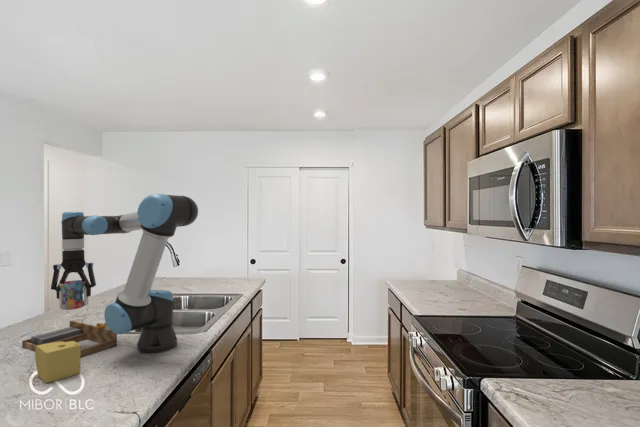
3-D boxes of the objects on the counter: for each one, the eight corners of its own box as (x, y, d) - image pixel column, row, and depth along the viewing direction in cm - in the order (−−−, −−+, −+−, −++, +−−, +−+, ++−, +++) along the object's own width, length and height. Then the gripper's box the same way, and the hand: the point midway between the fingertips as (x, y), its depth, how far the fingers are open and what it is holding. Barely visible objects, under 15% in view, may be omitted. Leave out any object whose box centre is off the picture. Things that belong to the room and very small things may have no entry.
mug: (75, 311, 145) (74, 283, 145) (53, 311, 146) (52, 284, 146) (96, 304, 157) (95, 278, 157) (75, 304, 158) (74, 279, 158)
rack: (117, 345, 152) (117, 326, 152) (66, 361, 135) (67, 340, 135) (72, 333, 167) (72, 316, 167) (21, 347, 150) (22, 328, 150)
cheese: (70, 365, 132) (71, 337, 132) (82, 374, 125) (82, 344, 125) (34, 375, 124) (35, 345, 124) (44, 385, 117) (44, 353, 117)
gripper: (104, 247, 158) (105, 301, 158) (47, 250, 152) (48, 306, 152) (99, 249, 151) (100, 305, 150) (39, 251, 145) (40, 310, 145)
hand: (74, 305), depth 151 cm, fingers closed on mug, 8 cm apart
